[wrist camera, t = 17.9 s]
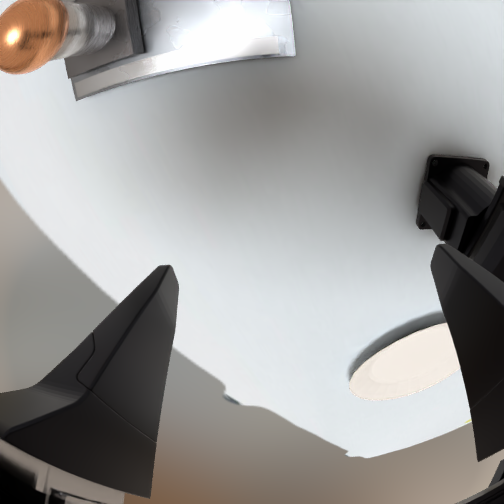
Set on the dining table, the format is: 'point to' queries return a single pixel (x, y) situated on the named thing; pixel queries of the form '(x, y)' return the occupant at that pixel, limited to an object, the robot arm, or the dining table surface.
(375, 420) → the dining table surface
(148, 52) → the base
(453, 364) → the plate
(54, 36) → the press lever
